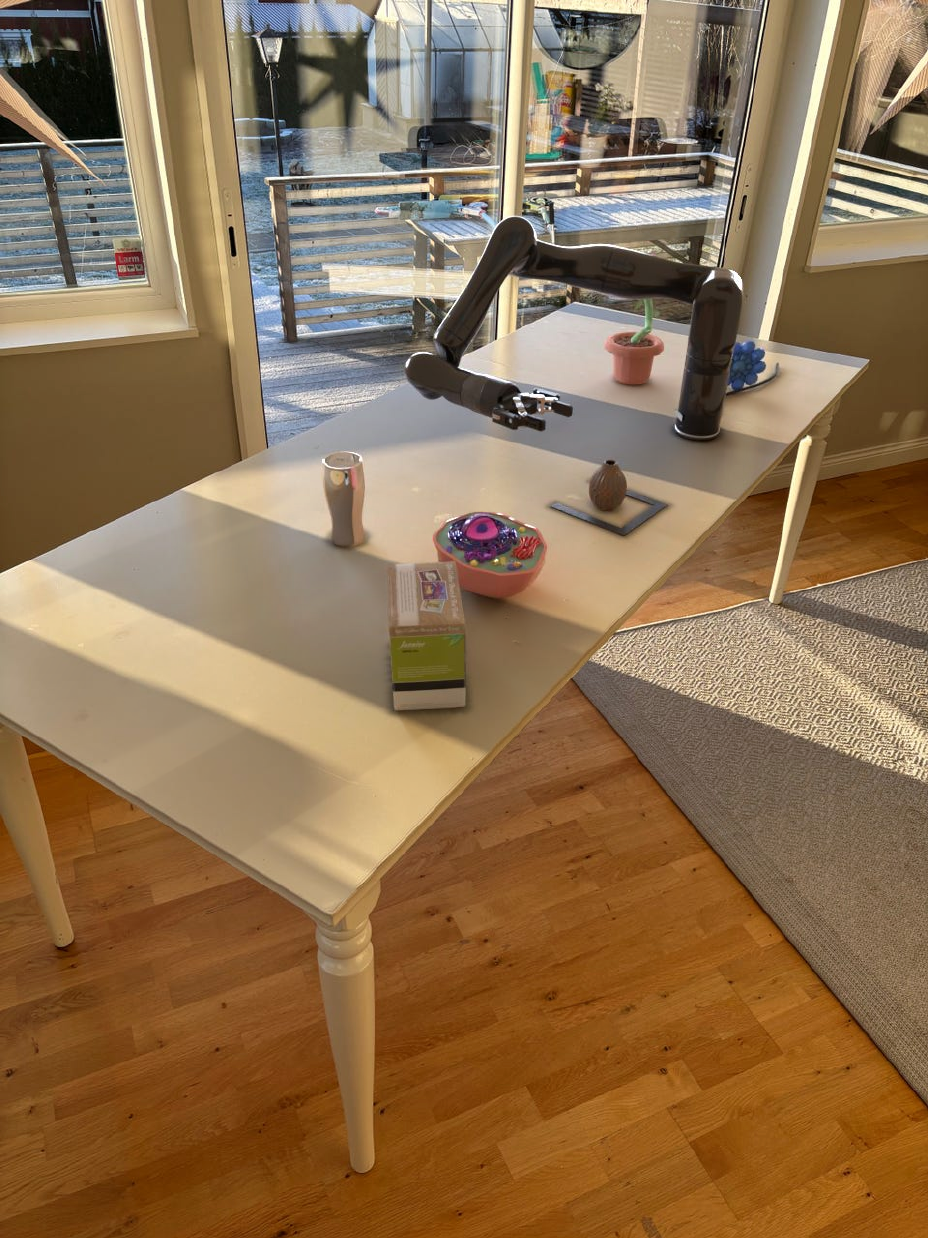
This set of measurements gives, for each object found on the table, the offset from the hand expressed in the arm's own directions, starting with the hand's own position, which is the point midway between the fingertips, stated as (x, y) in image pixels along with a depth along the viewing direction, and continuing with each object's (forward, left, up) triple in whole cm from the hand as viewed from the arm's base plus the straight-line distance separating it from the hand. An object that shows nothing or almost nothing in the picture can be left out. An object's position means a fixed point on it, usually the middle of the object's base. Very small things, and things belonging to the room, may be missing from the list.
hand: (558, 418), depth 171 cm
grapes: (-68, +4, -14) cm, 69 cm away
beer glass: (+40, -15, -14) cm, 45 cm away
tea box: (+59, +21, -14) cm, 64 cm away
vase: (0, +12, -14) cm, 18 cm away
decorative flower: (-57, -18, -14) cm, 61 cm away
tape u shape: (0, +13, -14) cm, 19 cm away
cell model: (+35, +13, -14) cm, 40 cm away
